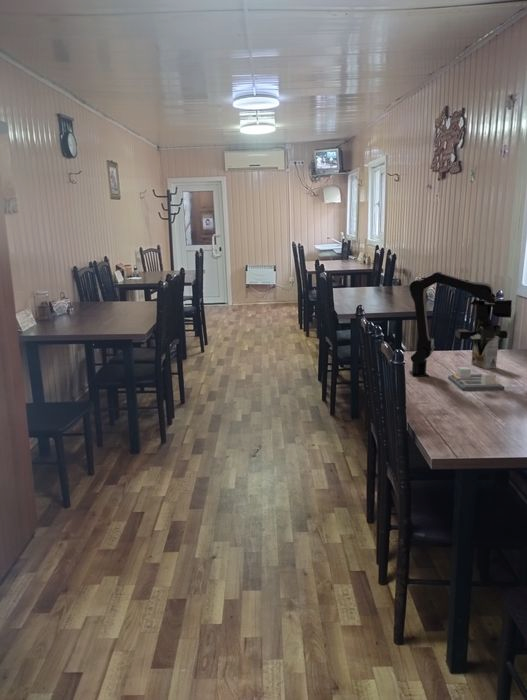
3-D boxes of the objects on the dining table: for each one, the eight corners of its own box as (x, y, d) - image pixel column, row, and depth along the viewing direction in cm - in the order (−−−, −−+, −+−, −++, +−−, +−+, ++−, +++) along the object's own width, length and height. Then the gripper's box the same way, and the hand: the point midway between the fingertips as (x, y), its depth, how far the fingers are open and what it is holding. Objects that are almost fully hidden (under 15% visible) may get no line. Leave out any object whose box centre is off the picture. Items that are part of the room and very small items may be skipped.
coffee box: (470, 364, 251) (473, 328, 247) (481, 362, 253) (484, 327, 249) (485, 369, 243) (488, 332, 239) (497, 367, 245) (500, 331, 241)
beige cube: (480, 382, 218) (481, 372, 218) (491, 382, 218) (492, 372, 218) (484, 385, 215) (485, 375, 214) (494, 385, 215) (495, 375, 214)
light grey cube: (457, 376, 227) (457, 367, 226) (466, 376, 227) (467, 367, 226) (460, 379, 224) (460, 369, 223) (470, 379, 224) (470, 369, 223)
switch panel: (448, 378, 229) (448, 374, 229) (487, 378, 229) (487, 373, 229) (462, 390, 214) (462, 385, 213) (504, 389, 214) (504, 384, 213)
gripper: (466, 320, 212) (463, 360, 215) (515, 319, 212) (512, 359, 216) (456, 315, 223) (453, 353, 226) (503, 314, 223) (500, 352, 226)
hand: (479, 355), depth 223 cm, fingers closed
